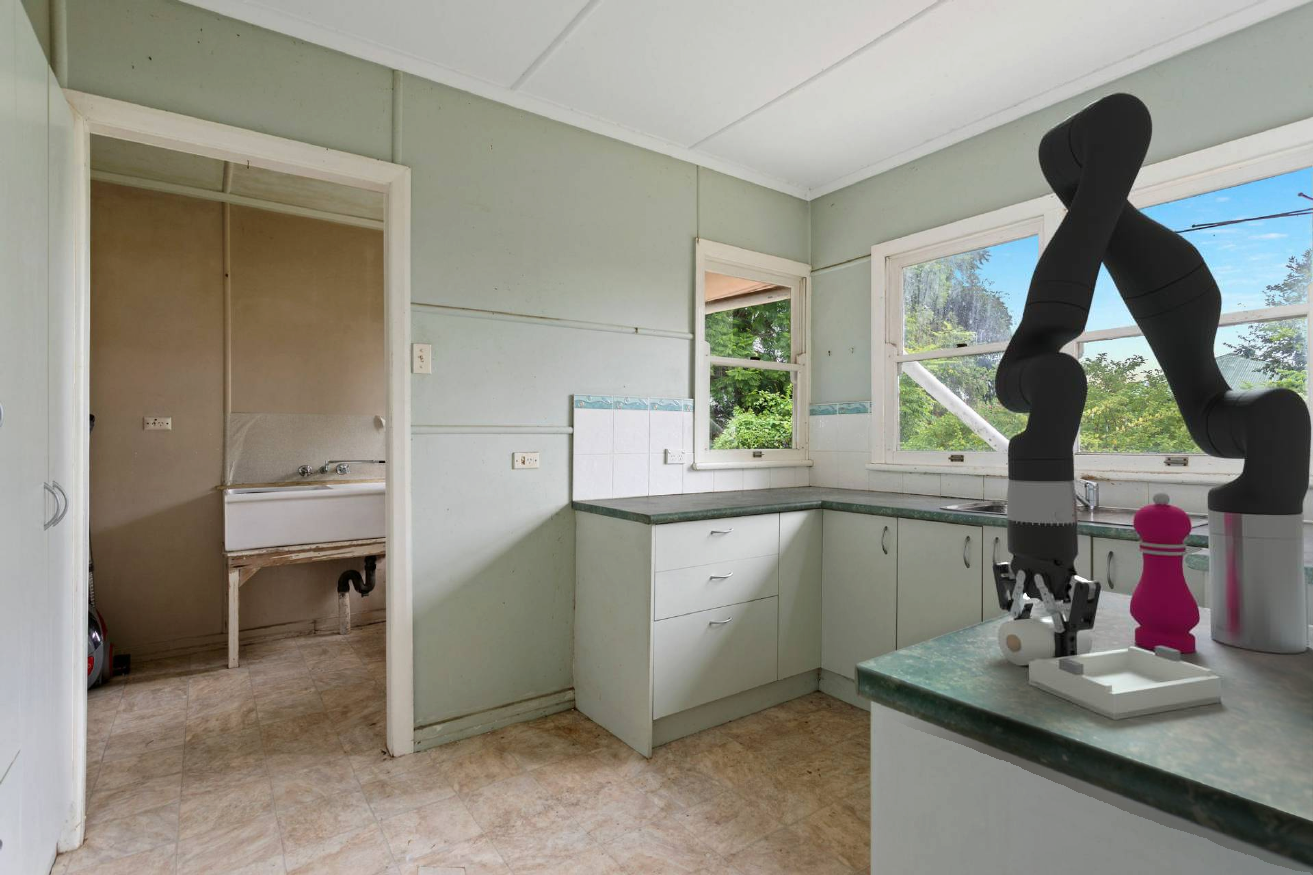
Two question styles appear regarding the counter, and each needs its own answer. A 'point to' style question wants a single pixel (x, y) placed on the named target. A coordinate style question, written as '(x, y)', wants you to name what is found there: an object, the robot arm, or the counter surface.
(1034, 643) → the paper roll
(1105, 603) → the counter surface
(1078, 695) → the holder
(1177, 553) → the pepper mill
